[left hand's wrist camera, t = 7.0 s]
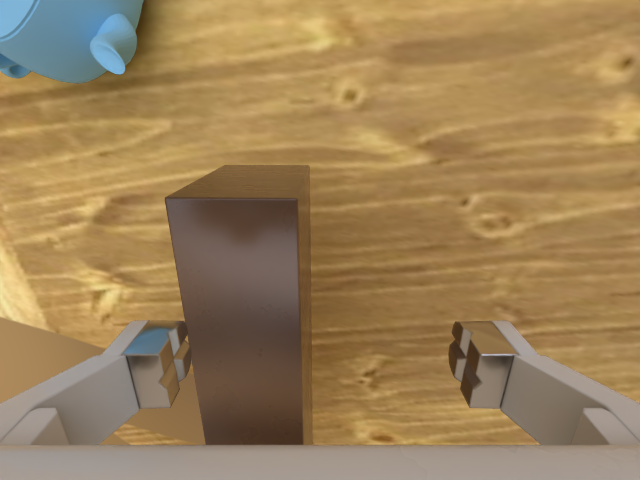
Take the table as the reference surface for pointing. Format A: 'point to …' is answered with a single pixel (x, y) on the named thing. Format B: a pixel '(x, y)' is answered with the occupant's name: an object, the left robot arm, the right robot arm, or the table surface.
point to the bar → (248, 300)
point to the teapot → (67, 37)
